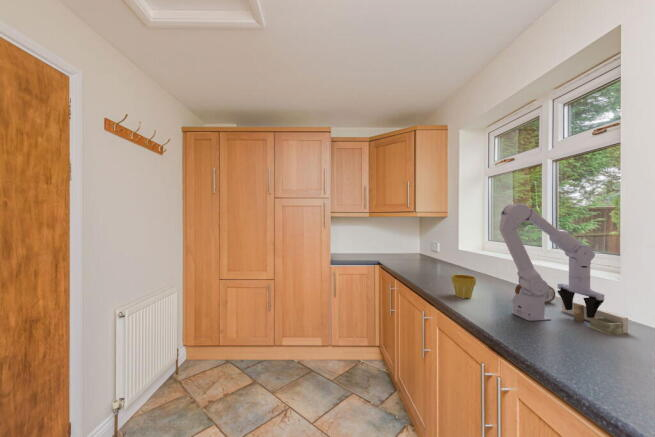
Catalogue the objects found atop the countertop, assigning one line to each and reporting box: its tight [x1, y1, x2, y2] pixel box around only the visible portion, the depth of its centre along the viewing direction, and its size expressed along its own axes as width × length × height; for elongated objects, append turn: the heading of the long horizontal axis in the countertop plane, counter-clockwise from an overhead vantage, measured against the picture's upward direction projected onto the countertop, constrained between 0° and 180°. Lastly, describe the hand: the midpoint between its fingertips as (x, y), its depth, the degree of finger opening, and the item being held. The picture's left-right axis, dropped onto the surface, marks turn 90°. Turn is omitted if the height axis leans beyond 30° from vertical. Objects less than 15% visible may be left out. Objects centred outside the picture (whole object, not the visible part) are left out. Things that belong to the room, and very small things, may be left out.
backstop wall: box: [561, 300, 629, 334], centre depth 96 cm, size 2×20×5 cm, turn 6°
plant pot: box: [451, 273, 477, 299], centre depth 125 cm, size 10×10×10 cm
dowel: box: [573, 303, 585, 323], centre depth 96 cm, size 3×3×6 cm
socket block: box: [589, 317, 624, 335], centre depth 88 cm, size 5×5×4 cm
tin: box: [514, 283, 556, 304], centre depth 118 cm, size 15×3×8 cm, turn 77°
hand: (579, 313), depth 96 cm, fingers open, 7 cm apart
